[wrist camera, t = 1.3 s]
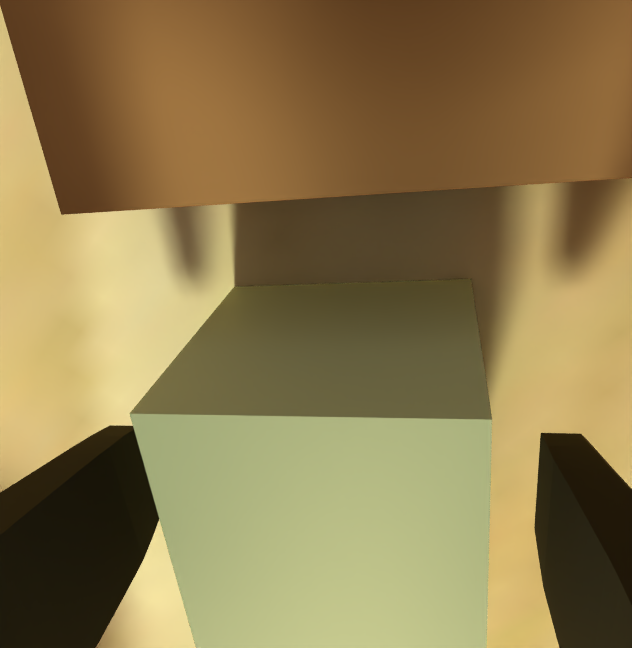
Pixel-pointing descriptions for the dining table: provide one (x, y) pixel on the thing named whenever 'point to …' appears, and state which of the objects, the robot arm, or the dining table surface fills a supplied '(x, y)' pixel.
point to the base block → (320, 96)
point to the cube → (327, 467)
